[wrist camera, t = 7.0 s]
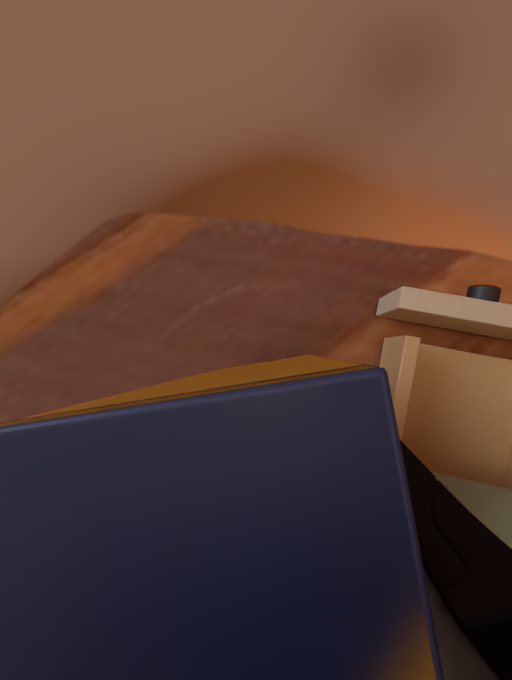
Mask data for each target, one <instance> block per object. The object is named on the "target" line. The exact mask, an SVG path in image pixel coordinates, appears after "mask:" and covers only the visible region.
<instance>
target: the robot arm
mask: <svg viewBox="0 0 512 680" xmlns="http://www.w3.org/2000/svg"><path fill="white" fill-rule="evenodd" d="M400 444H401V449H402V455H403V460H404V465H405V471H406V476H407V482H408V487H409V492H410V498H411V503H412V508H413V514H414V519H415V525H416V530H417V535H418V541H419V546H420V552H421V557H422V562H423V568H424V573H425V579H426V584H427V589H428V595H429V600H430V605H431V611H432V616H433V622H434V627H435V632H436V638H437V643H438V649H439V654H440V659H441V665H442V670H443V676H444V680H512V549H511V548H510V547H509V546H508V545H507V544H506V543H504V542H503V541H502V540H501V539H500V538H499V537H498V536H496V535H495V534H494V533H493V532H492V531H491V530H490V529H489V528H487V527H486V526H485V525H484V524H483V523H482V522H481V521H480V520H479V519H478V518H476V517H475V516H474V515H473V514H472V513H471V512H470V511H469V510H468V509H467V508H466V507H465V506H464V505H463V504H462V503H461V502H460V501H459V500H458V499H457V498H456V497H455V496H454V495H453V494H452V493H451V492H450V491H449V490H448V489H447V488H446V487H445V486H444V485H443V484H442V483H441V482H440V481H439V480H436V477H435V475H434V474H433V473H432V472H431V471H430V470H429V469H428V468H427V467H426V466H425V465H424V464H423V463H422V462H421V461H420V460H419V459H418V458H417V457H416V456H415V455H414V453H413V452H412V451H411V450H410V449H409V448H408V447H407V446H406V445H405V444H404V443H403V442H402V441H401V440H400Z"/></svg>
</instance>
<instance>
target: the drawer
mask: <svg viewBox="0 0 512 680" xmlns="http://www.w3.org/2000/svg"><path fill="white" fill-rule="evenodd" d="M500 293H501V289H500V288H499V287H496V286H491V285H473V286H469V287H468V290H467V296H466V297H464V296H458V295H452V294H447V293H441V292H435V291H429V290H423V289H418V288H412V287H406V286H402V287H400V288H399V289H397V290H395V291H393V292H391V293H389V294H387V295H385V296H383V297H381V298H379V302H378V308H377V313H376V316H379V317H385V318H390V319H396V320H401V321H407V322H412V323H418V324H423V325H429V326H434V327H440V328H445V329H451V330H456V331H462V332H467V333H473V334H478V335H484V336H489V337H495V338H500V339H506V340H511V341H512V305H510V304H504V303H499V298H500ZM420 340H421V338H420V337H414V336H409V335H404V336H395V337H387V338H384V343H383V348H382V354H381V359H380V364H379V367H381V368H385V370H386V371H387V374H388V379H389V385H390V390H391V395H392V401H393V406H394V412H395V417H396V422H397V428H398V433H399V438H400V440H401V441H402V442H403V443H404V444H405V445H406V446H407V447H408V448H409V449H410V450H411V451H412V452H413V453H414V455H415V456H416V457H417V458H418V459H419V460H420V461H421V462H422V463H423V464H424V465H425V466H426V467H427V468H428V469H429V470H430V471H431V472H434V473H439V474H444V475H448V476H453V477H458V478H462V479H467V480H472V481H476V482H481V483H485V484H490V485H495V486H499V487H504V488H509V489H512V360H509V359H503V358H498V357H493V356H487V355H482V354H476V353H471V352H466V351H460V350H455V349H450V348H444V347H439V346H433V345H428V344H423V343H420Z"/></svg>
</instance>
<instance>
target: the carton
mask: <svg viewBox="0 0 512 680" xmlns="http://www.w3.org/2000/svg"><path fill="white" fill-rule="evenodd" d="M0 680H444V676H443V670H442V665H441V659H440V654H439V649H438V643H437V638H436V632H435V627H434V622H433V616H432V611H431V605H430V600H429V595H428V589H427V584H426V579H425V573H424V568H423V562H422V557H421V552H420V546H419V541H418V535H417V530H416V525H415V519H414V514H413V508H412V503H411V498H410V492H409V487H408V482H407V476H406V471H405V465H404V460H403V455H402V449H401V444H400V438H399V433H398V428H397V422H396V417H395V412H394V406H393V401H392V395H391V390H390V385H389V379H388V374H387V371H386V370H385V368H381V367H376V366H371V365H365V364H364V365H362V364H357V363H351V362H346V361H341V360H335V359H330V358H325V357H319V356H314V355H304V356H298V357H292V358H286V359H280V360H274V361H268V362H262V363H256V364H249V365H243V366H237V367H231V368H225V369H219V370H214V371H210V372H206V373H202V374H198V375H194V376H190V377H186V378H182V379H178V380H174V381H170V382H166V383H162V384H158V385H154V386H150V387H146V388H142V389H138V390H134V391H130V392H126V393H122V394H117V395H113V396H109V397H105V398H101V399H97V400H93V401H89V402H85V403H81V404H77V405H73V406H69V407H65V408H61V409H57V410H53V411H49V412H45V413H41V414H37V415H33V416H29V417H25V418H21V419H17V420H12V421H8V422H4V423H0Z"/></svg>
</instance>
